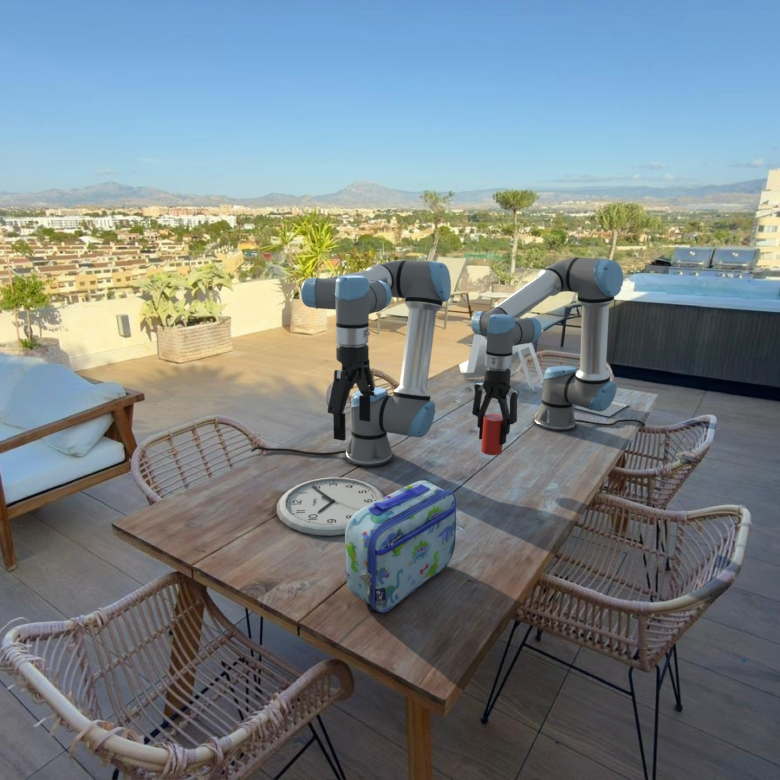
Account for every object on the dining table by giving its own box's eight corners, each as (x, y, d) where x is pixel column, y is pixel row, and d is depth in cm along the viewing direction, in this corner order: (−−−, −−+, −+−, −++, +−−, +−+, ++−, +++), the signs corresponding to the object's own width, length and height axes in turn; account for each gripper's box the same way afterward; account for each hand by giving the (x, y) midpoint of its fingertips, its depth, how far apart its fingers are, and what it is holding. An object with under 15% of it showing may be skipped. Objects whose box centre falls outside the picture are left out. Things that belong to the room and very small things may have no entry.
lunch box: (374, 626, 100) (375, 530, 93) (338, 598, 107) (337, 508, 101) (459, 568, 117) (465, 484, 111) (424, 547, 124) (427, 467, 118)
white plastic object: (480, 420, 263) (459, 397, 239) (461, 347, 286) (440, 319, 261) (551, 396, 251) (537, 369, 226) (526, 322, 273) (511, 290, 249)
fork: (417, 411, 216) (418, 406, 216) (428, 400, 231) (428, 395, 230) (423, 412, 215) (424, 407, 215) (434, 400, 230) (434, 396, 229)
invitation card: (608, 416, 214) (573, 407, 224) (608, 416, 214) (573, 408, 224) (628, 404, 229) (594, 396, 238) (628, 405, 229) (594, 397, 238)
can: (477, 450, 161) (479, 416, 158) (489, 445, 165) (492, 412, 162) (493, 457, 157) (496, 422, 153) (506, 451, 161) (508, 417, 157)
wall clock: (392, 527, 129) (268, 531, 127) (391, 533, 130) (269, 537, 127) (383, 473, 158) (282, 475, 155) (383, 478, 158) (282, 480, 156)
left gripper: (341, 357, 109) (342, 451, 115) (388, 336, 131) (386, 415, 137) (310, 353, 111) (313, 445, 118) (361, 333, 133) (361, 411, 140)
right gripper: (462, 365, 156) (458, 436, 163) (523, 376, 145) (516, 452, 152) (474, 360, 161) (470, 429, 168) (534, 370, 150) (527, 444, 157)
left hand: (352, 429), depth 127 cm, fingers open, 13 cm apart
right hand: (492, 440), depth 160 cm, fingers closed on can, 6 cm apart
